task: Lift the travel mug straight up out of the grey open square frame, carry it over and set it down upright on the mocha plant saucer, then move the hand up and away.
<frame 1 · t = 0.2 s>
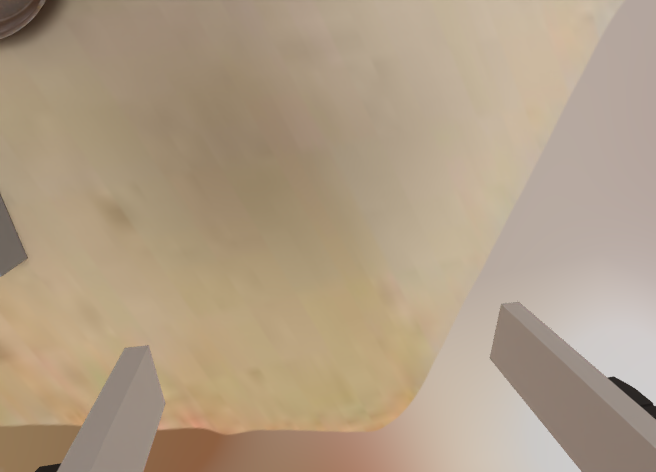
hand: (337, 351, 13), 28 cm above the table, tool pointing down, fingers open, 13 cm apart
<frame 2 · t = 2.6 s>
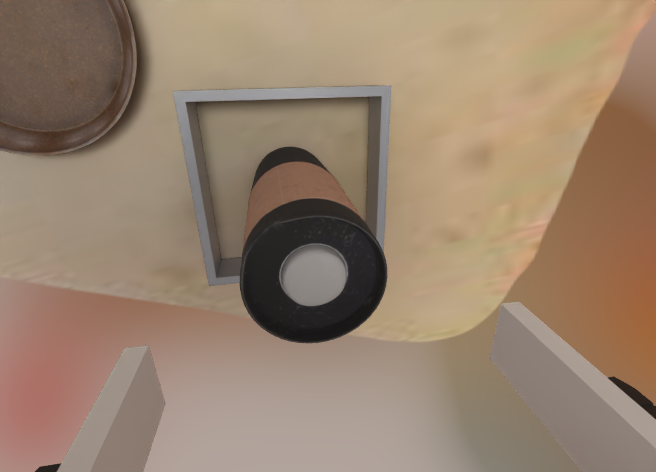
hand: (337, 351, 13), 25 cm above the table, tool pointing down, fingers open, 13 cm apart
plant saucer: (28, 36, 28), on the table
travel mug: (290, 181, 35), resting in grey open square frame
grey open square frame: (290, 182, 35), on the table
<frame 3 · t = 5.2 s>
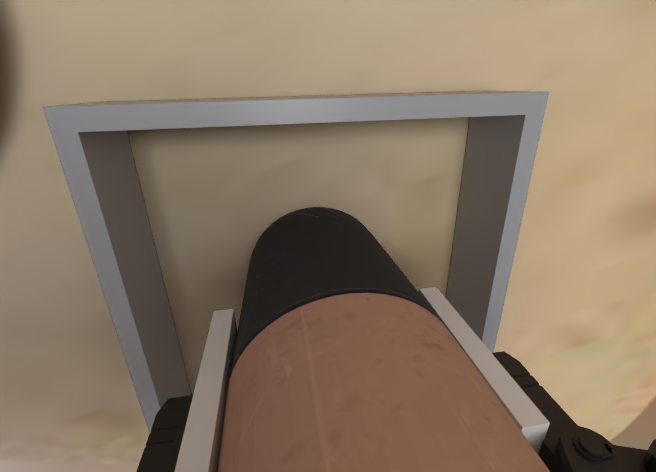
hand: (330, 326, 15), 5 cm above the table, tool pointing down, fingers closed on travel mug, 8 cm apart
travel mug: (315, 265, 19), resting in grey open square frame, touching gripper
grey open square frame: (315, 267, 19), on the table
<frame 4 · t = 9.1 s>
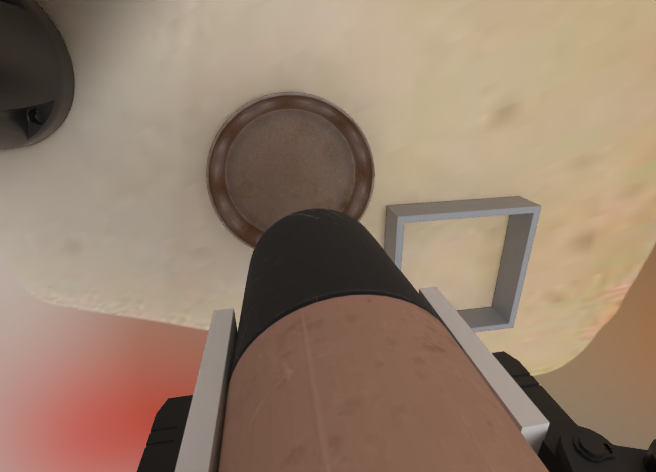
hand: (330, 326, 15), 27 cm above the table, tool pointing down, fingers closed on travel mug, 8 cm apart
plant saucer: (292, 175, 40), on the table
travel mug: (315, 266, 19), point 22 cm above the table, touching gripper
grey open square frame: (446, 263, 47), on the table
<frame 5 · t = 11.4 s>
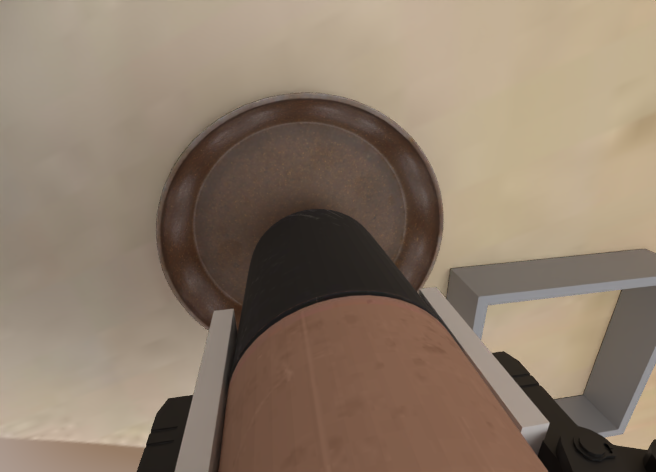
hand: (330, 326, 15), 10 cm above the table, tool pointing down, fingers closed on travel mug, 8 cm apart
plant saucer: (304, 227, 24), on the table
travel mug: (315, 266, 19), point 5 cm above the table, touching gripper
grey open square frame: (529, 343, 32), on the table
when the fingers open (9 cm above the table, at t = 13.2 s): travel mug stays where it is, resting on plant saucer.
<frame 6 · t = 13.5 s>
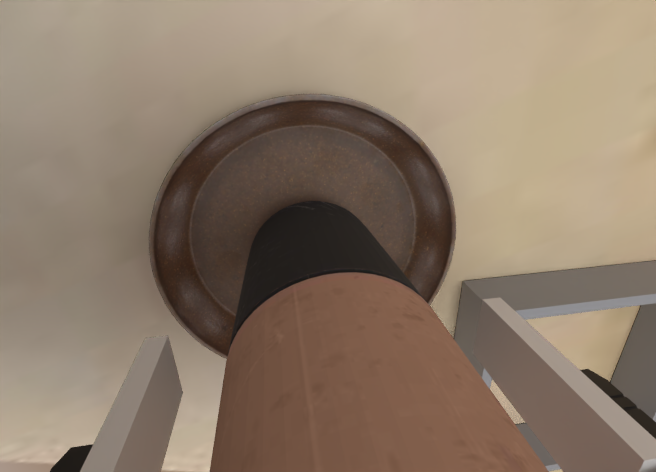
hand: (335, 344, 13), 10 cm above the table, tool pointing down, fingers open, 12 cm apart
plant saucer: (307, 237, 23), on the table, touching travel mug
travel mug: (311, 257, 20), point 2 cm above the table, touching plant saucer
grey open square frame: (544, 358, 30), on the table
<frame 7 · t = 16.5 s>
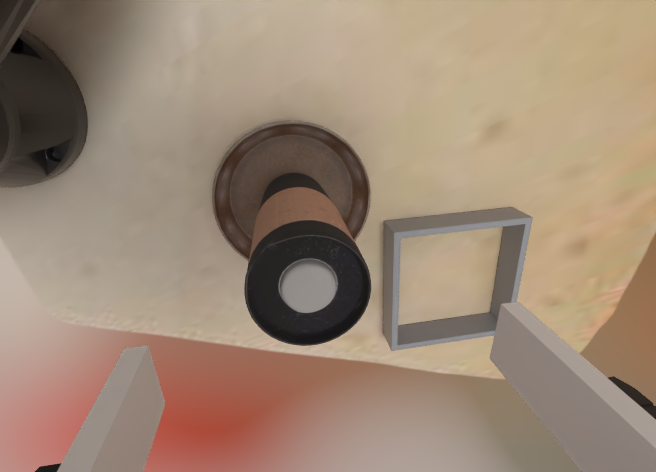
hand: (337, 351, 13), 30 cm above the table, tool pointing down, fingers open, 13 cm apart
plant saucer: (292, 195, 42), on the table
travel mug: (294, 203, 39), point 3 cm above the table
grey open square frame: (444, 272, 49), on the table
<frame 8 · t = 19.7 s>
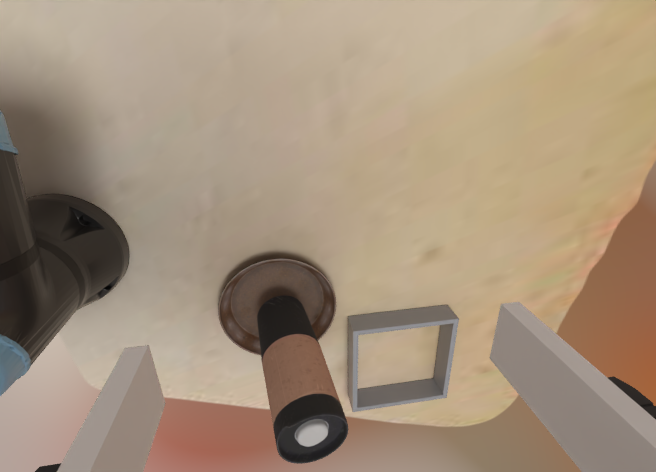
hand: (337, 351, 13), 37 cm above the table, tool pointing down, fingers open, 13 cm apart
plant saucer: (278, 299, 55), on the table, touching travel mug
travel mug: (280, 313, 52), point 3 cm above the table, touching plant saucer
grey open square frame: (395, 350, 63), on the table
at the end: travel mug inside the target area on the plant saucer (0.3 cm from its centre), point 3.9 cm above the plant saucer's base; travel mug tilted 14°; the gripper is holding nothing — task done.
